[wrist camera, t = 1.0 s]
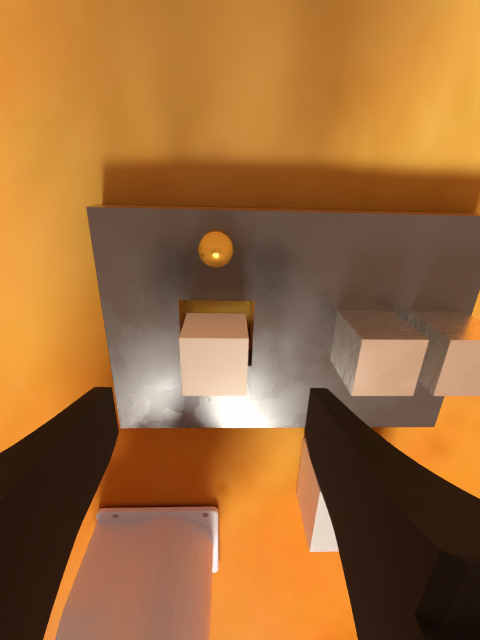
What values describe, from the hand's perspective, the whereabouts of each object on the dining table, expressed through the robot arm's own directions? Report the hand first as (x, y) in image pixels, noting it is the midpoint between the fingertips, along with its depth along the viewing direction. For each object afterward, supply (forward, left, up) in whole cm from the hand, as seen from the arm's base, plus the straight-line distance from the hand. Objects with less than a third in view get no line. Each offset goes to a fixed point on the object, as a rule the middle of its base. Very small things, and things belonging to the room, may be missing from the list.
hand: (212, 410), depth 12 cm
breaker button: (0, 0, -6) cm, 6 cm away
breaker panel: (+4, 0, -8) cm, 9 cm away
